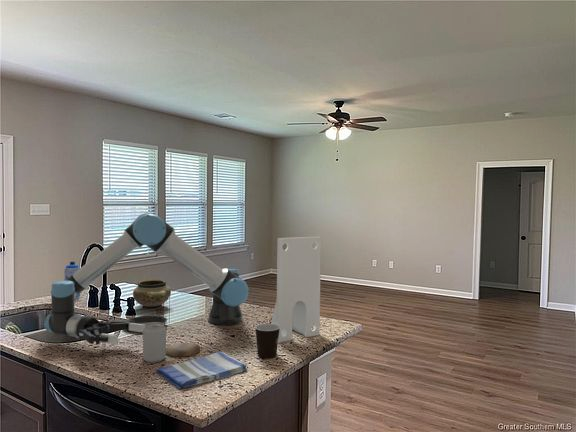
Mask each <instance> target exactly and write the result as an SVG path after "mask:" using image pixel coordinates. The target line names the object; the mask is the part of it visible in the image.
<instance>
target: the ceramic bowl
mask: <svg viewBox="0 0 576 432" xmlns="http://www.w3.org/2000/svg"><path fill="white" fill-rule="evenodd" d="M171 293H172V291H171V288H170V286H168V285H167V282H166V280H163V279H146V280H141V281H138V282H137V286H136V287H135V288H134V290H133V291H132V296H133V299H134V301H135V302H136V303H138V304H139V305H141V306H142V309H143V310H148V311H153V310H154V311H155V310H159V309H161V308H162V307H163V304H165V303H166V302H167V301H168V300H169V298H170V297H171Z"/></svg>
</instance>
